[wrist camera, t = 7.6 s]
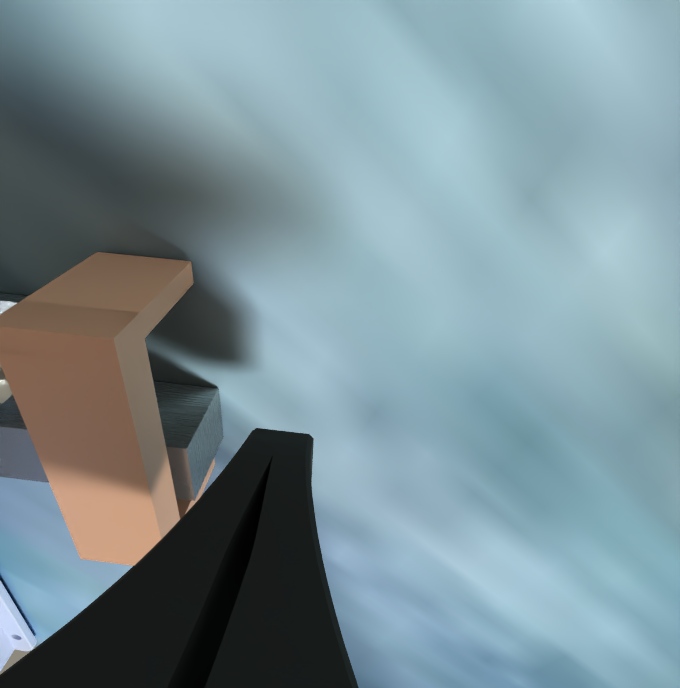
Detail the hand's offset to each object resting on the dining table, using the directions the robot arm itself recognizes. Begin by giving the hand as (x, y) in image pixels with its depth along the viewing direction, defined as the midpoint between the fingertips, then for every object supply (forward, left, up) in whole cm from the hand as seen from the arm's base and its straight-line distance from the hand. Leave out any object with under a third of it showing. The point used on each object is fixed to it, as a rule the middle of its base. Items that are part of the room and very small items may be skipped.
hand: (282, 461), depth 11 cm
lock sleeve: (0, +4, -3) cm, 5 cm away
